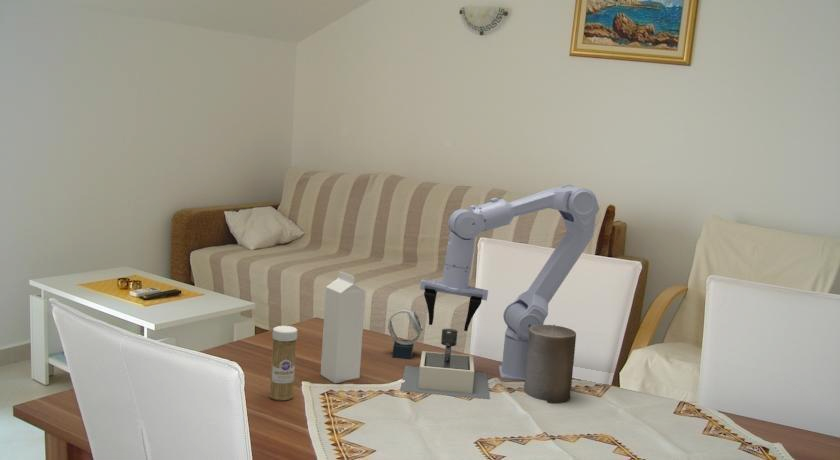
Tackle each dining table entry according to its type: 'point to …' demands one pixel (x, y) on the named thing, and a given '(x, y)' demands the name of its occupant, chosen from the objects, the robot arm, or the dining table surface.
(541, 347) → the pillar candle
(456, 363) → the plunger
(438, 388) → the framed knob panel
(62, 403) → the dining table surface
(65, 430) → the dining table surface
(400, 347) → the watch
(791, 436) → the dining table surface
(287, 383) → the sprinkles bottle
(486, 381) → the slate mat
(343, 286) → the milk
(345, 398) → the dining table surface
